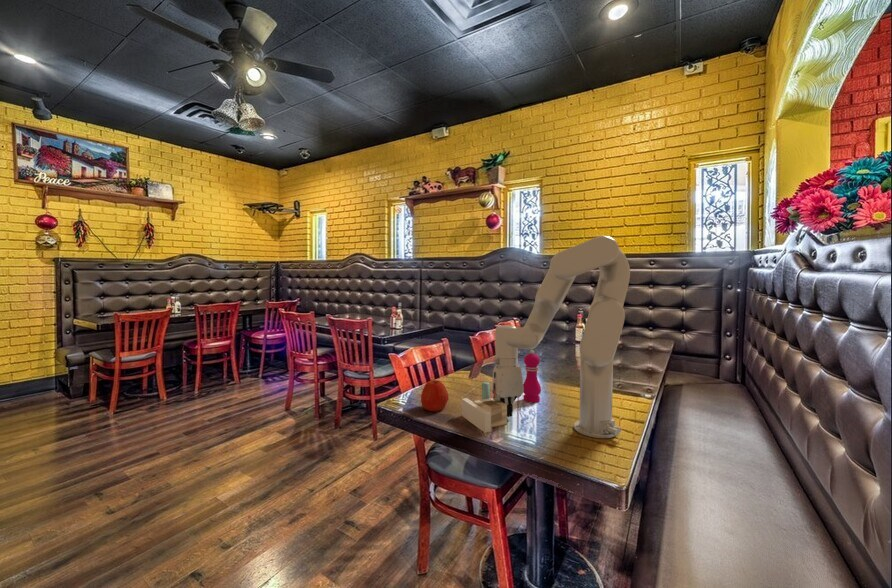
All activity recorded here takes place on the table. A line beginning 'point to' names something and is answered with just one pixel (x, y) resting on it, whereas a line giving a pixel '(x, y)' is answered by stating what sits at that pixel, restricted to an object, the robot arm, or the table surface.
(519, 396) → the robot arm
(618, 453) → the table surface
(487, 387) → the dowel
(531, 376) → the pepper mill
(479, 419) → the wall
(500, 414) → the block
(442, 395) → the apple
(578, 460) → the table surface
